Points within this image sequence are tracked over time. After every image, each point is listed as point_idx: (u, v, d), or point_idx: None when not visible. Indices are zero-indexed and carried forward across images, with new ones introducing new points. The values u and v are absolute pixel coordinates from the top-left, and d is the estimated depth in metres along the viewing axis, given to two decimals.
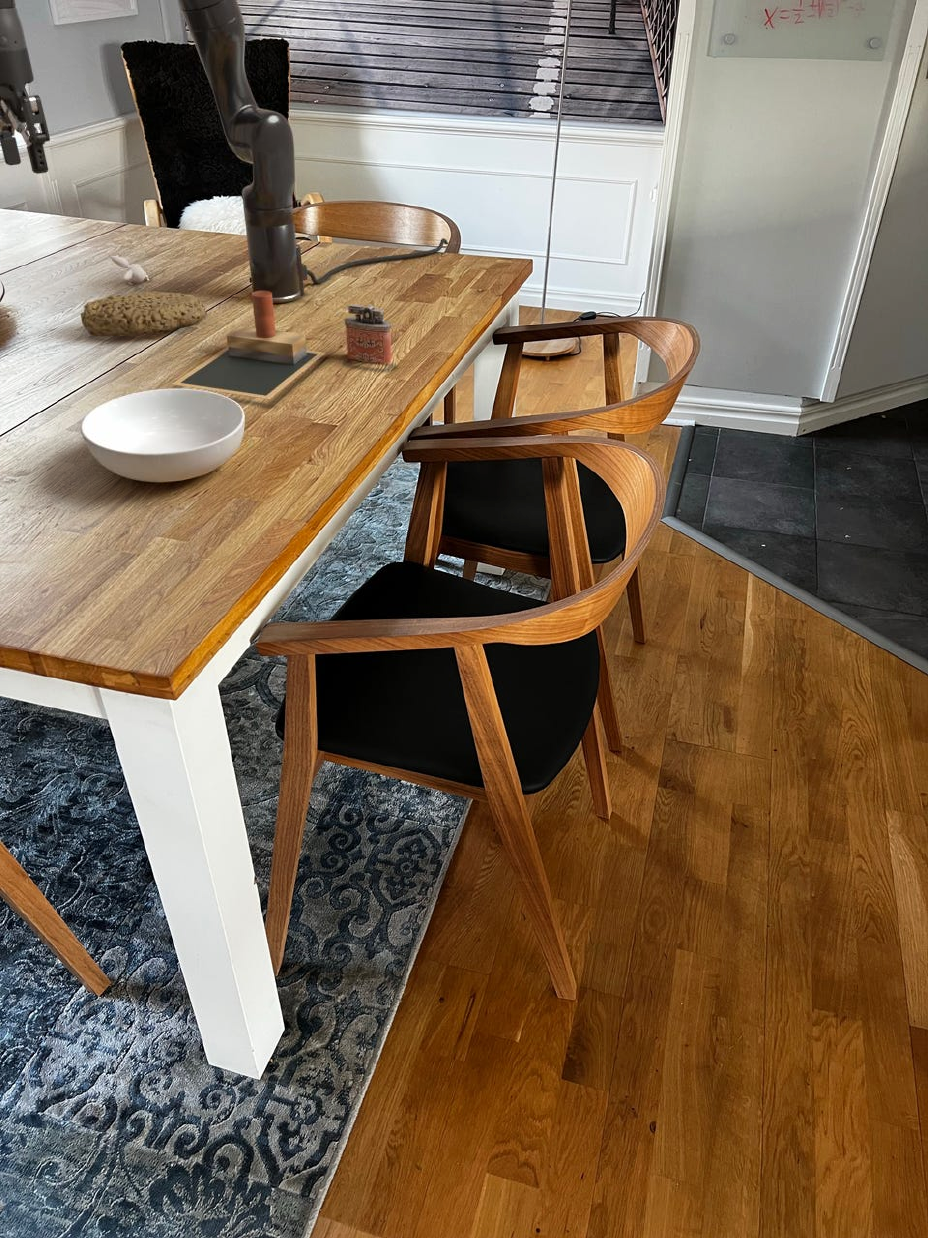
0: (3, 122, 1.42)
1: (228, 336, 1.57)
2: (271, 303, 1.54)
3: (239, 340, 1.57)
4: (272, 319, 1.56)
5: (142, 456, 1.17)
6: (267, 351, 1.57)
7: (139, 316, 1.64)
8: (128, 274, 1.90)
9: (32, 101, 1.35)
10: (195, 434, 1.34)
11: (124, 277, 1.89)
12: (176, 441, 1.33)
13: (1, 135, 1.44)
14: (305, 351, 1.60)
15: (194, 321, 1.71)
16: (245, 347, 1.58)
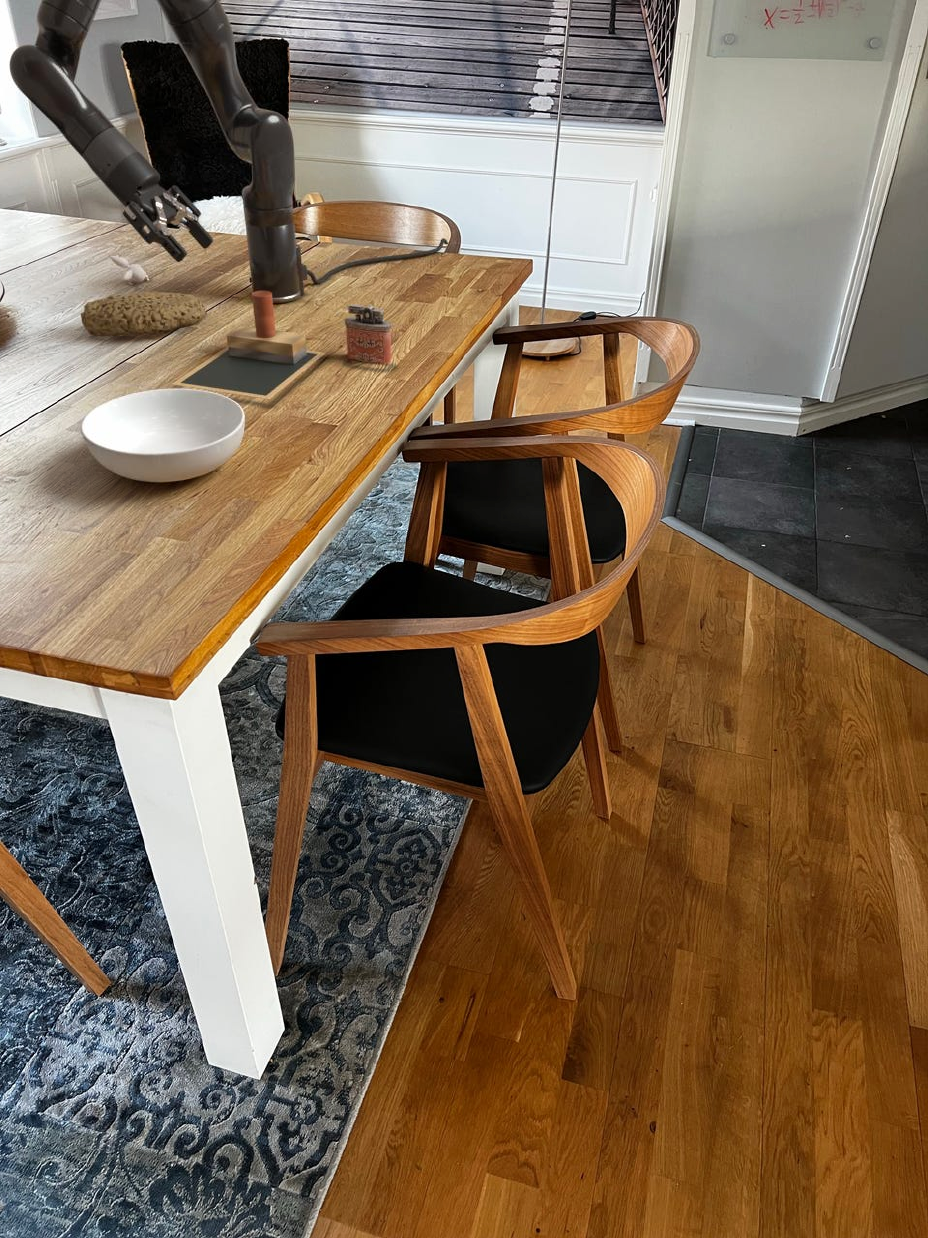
0: (176, 219, 1.54)
1: (228, 336, 1.57)
2: (271, 303, 1.54)
3: (239, 340, 1.57)
4: (272, 319, 1.56)
5: (142, 456, 1.17)
6: (267, 351, 1.57)
7: (139, 316, 1.64)
8: (128, 274, 1.90)
9: (128, 211, 1.45)
10: (195, 434, 1.34)
11: (124, 277, 1.89)
12: (176, 441, 1.33)
13: (188, 227, 1.56)
14: (305, 351, 1.60)
15: (194, 321, 1.71)
16: (245, 347, 1.58)
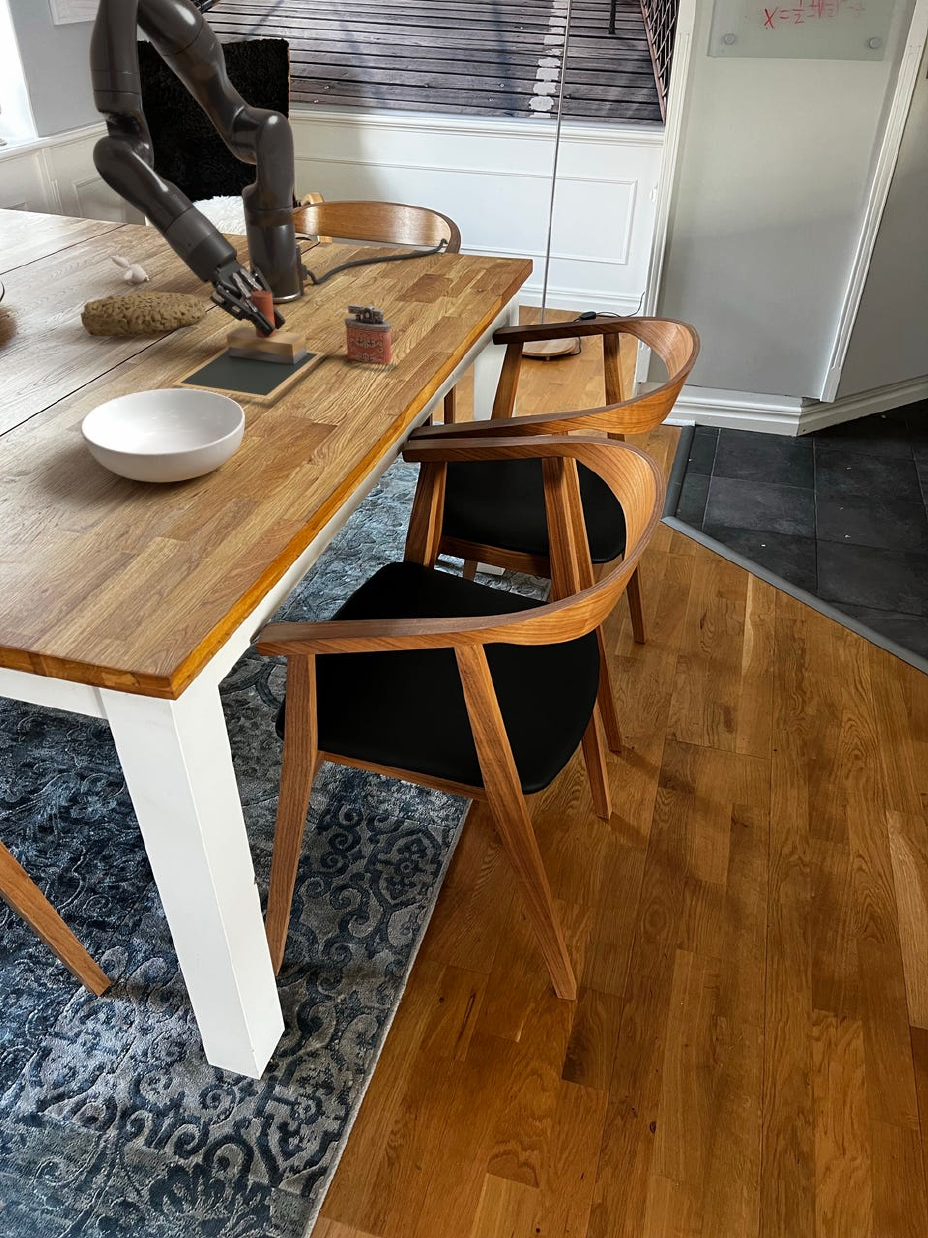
0: None
1: (228, 336, 1.57)
2: (271, 303, 1.54)
3: (239, 340, 1.57)
4: (272, 319, 1.56)
5: (142, 456, 1.17)
6: (267, 351, 1.57)
7: (139, 316, 1.64)
8: (128, 274, 1.90)
9: (216, 297, 1.49)
10: (195, 434, 1.34)
11: (124, 277, 1.89)
12: (176, 441, 1.33)
13: None
14: (305, 351, 1.60)
15: (194, 321, 1.71)
16: (245, 347, 1.58)
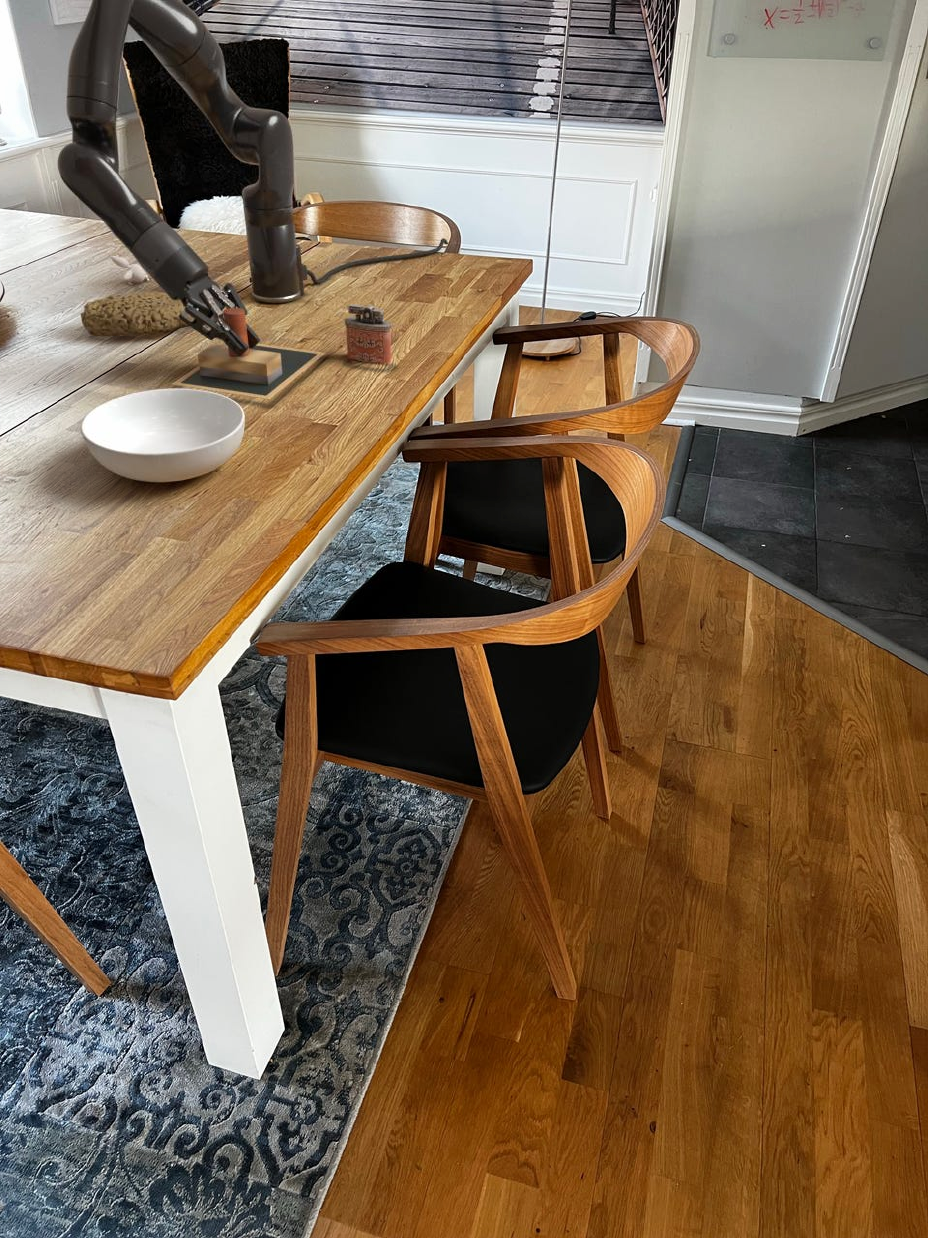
0: None
1: (199, 355, 1.50)
2: (244, 321, 1.47)
3: (210, 359, 1.50)
4: (245, 337, 1.48)
5: (142, 456, 1.17)
6: (240, 371, 1.49)
7: (139, 316, 1.64)
8: (128, 274, 1.90)
9: (186, 315, 1.42)
10: (195, 434, 1.34)
11: (124, 277, 1.89)
12: (176, 441, 1.33)
13: None
14: (280, 370, 1.52)
15: None
16: (217, 367, 1.50)
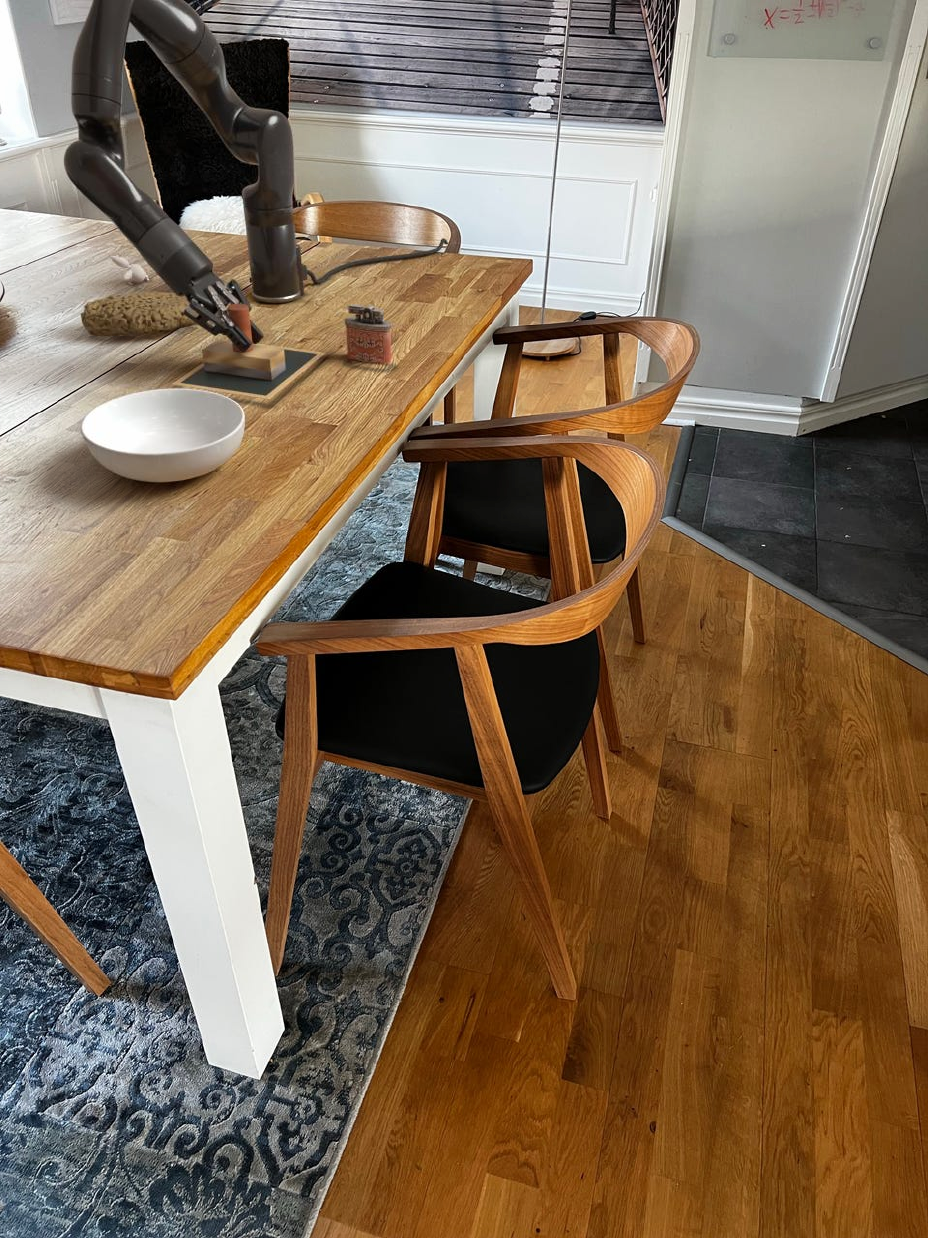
0: None
1: (203, 351, 1.51)
2: (248, 317, 1.49)
3: (215, 354, 1.51)
4: (249, 333, 1.50)
5: (142, 456, 1.17)
6: (244, 366, 1.51)
7: (139, 316, 1.64)
8: (128, 274, 1.90)
9: (190, 311, 1.44)
10: (195, 434, 1.34)
11: (124, 277, 1.89)
12: (176, 441, 1.33)
13: None
14: (284, 366, 1.54)
15: None
16: (221, 362, 1.52)
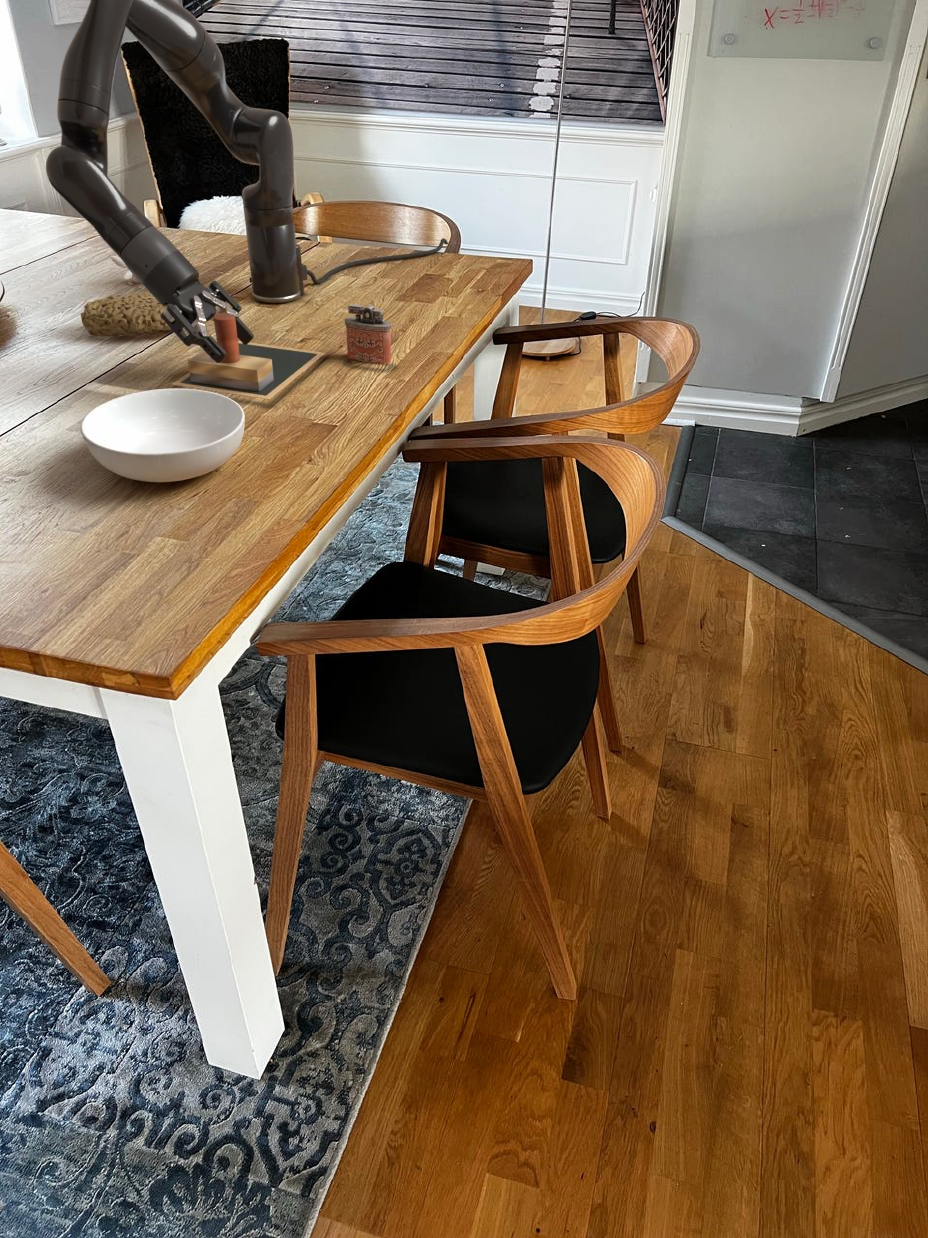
0: None
1: (189, 361, 1.48)
2: (234, 326, 1.45)
3: (201, 365, 1.48)
4: (236, 343, 1.46)
5: (142, 456, 1.17)
6: (231, 377, 1.47)
7: (139, 316, 1.64)
8: (128, 274, 1.90)
9: (166, 314, 1.40)
10: (195, 434, 1.34)
11: (124, 277, 1.89)
12: (176, 441, 1.33)
13: None
14: (272, 376, 1.50)
15: None
16: (207, 373, 1.48)
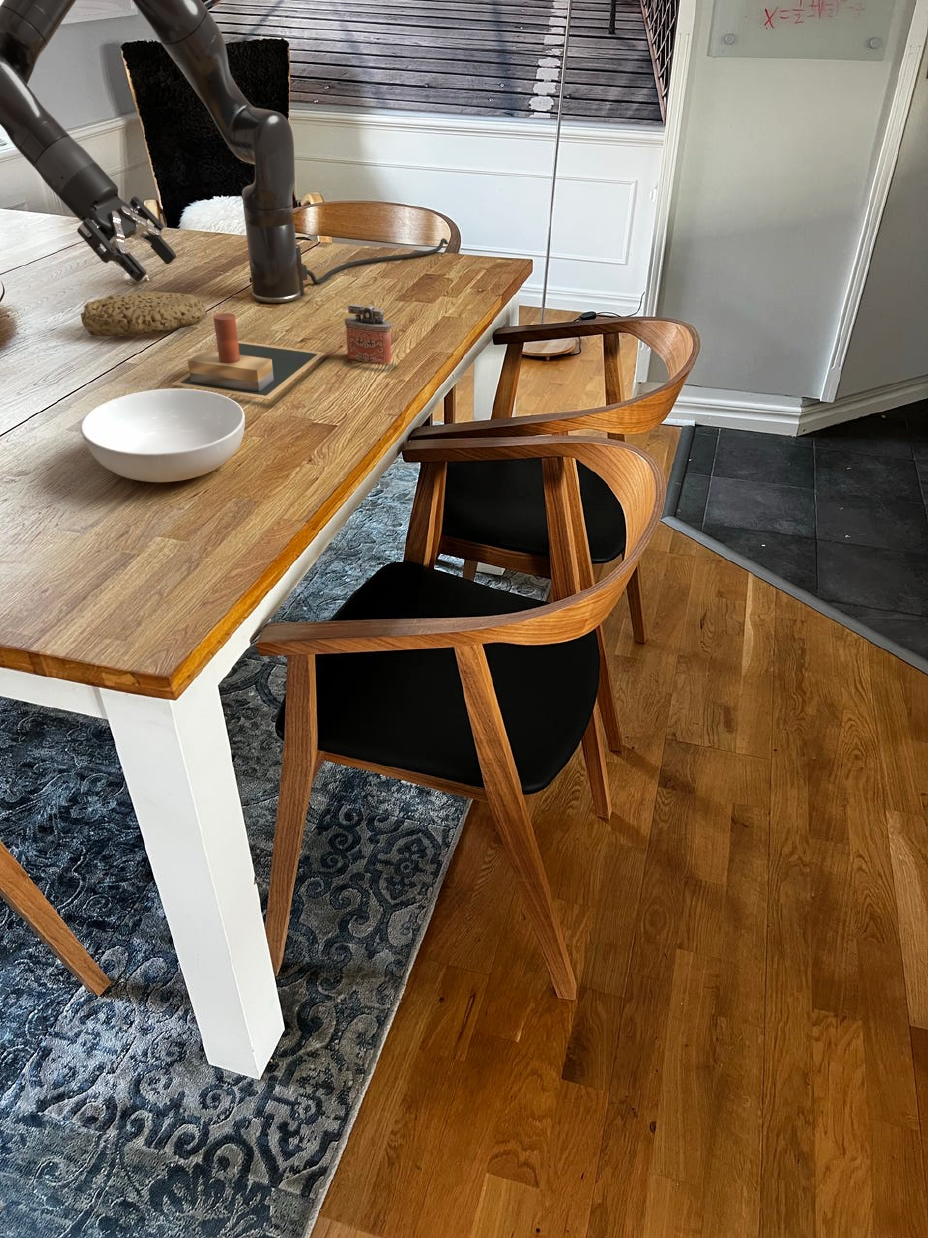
0: (136, 233, 1.46)
1: (189, 361, 1.48)
2: (234, 326, 1.45)
3: (201, 365, 1.48)
4: (236, 343, 1.46)
5: (142, 456, 1.17)
6: (231, 377, 1.47)
7: (139, 316, 1.64)
8: (128, 274, 1.90)
9: (82, 228, 1.37)
10: (195, 434, 1.34)
11: (124, 277, 1.89)
12: (176, 441, 1.33)
13: (149, 242, 1.47)
14: (272, 376, 1.50)
15: (194, 321, 1.71)
16: (207, 373, 1.48)
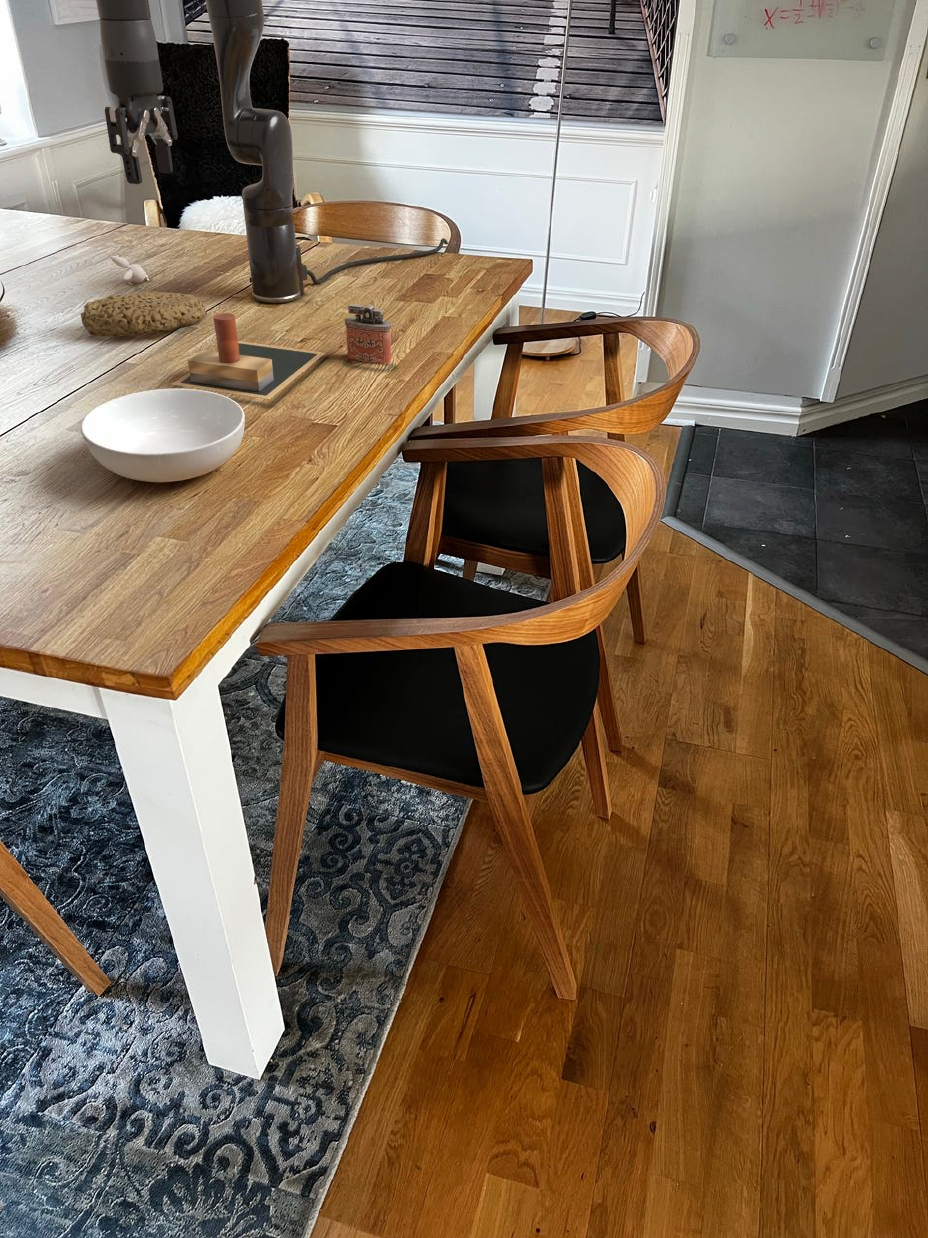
0: None
1: (189, 361, 1.48)
2: (234, 326, 1.45)
3: (201, 365, 1.48)
4: (236, 343, 1.46)
5: (142, 456, 1.17)
6: (231, 377, 1.47)
7: (139, 316, 1.64)
8: (128, 274, 1.90)
9: (111, 112, 1.35)
10: (195, 434, 1.34)
11: (124, 277, 1.89)
12: (176, 441, 1.33)
13: (156, 143, 1.47)
14: (272, 376, 1.50)
15: (194, 321, 1.71)
16: (207, 373, 1.48)
